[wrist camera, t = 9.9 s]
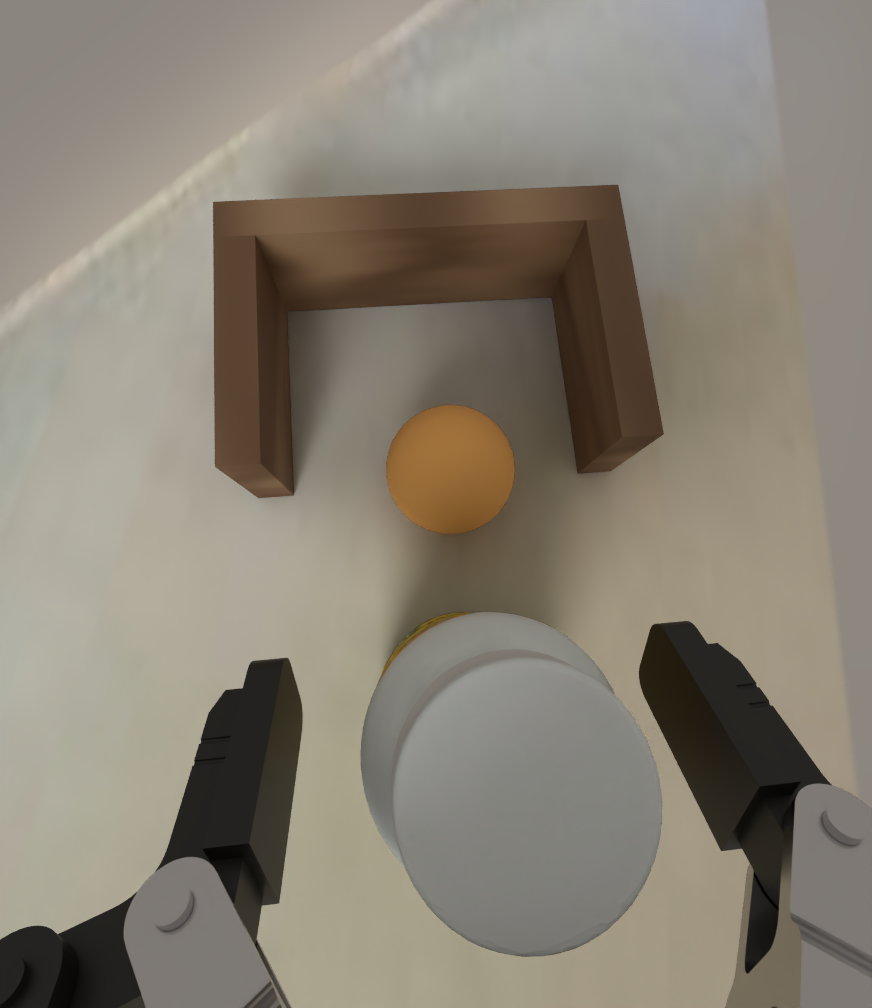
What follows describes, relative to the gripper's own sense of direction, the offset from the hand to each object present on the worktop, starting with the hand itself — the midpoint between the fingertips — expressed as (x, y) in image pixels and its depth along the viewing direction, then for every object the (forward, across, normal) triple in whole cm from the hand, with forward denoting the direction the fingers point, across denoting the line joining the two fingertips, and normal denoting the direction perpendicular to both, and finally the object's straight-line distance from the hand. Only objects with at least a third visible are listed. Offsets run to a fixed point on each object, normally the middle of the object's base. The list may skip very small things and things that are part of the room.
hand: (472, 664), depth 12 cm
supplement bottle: (+3, 0, +5) cm, 6 cm away
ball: (+6, 0, -1) cm, 7 cm away
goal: (+11, 0, -3) cm, 11 cm away
